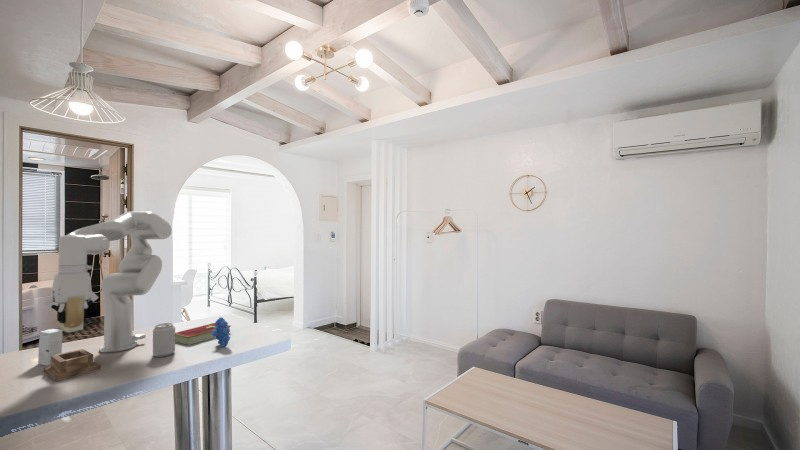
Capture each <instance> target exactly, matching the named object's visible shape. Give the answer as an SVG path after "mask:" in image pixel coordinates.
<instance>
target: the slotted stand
mask: <svg viewBox="0 0 800 450" xmlns="http://www.w3.org/2000/svg"><path fill="white" fill-rule="evenodd" d="M101 366H102V365H101V364H99V363H97V362H96V361H94V354H93V353H91V352H89V351H87V350H86V349H83V348H80V349H75V350H72V351H66V352H62V353H61V354H57V355H52V356H51V365H49V366H45V367H43V368H42V373H44V374H45V375H46V376H48V377H49V378H50V379H51V380H53V381H54V382H58V381H62V380H65V379H70V378H74V377H78V376H82V375H84V374H89V373H92V372H97V371H99V370H101Z"/></svg>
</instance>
